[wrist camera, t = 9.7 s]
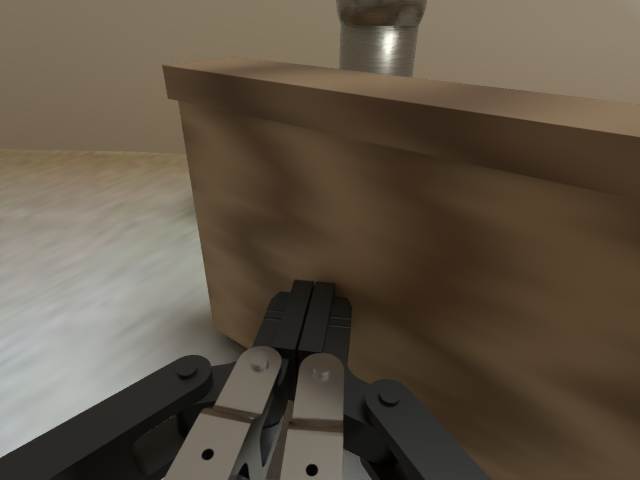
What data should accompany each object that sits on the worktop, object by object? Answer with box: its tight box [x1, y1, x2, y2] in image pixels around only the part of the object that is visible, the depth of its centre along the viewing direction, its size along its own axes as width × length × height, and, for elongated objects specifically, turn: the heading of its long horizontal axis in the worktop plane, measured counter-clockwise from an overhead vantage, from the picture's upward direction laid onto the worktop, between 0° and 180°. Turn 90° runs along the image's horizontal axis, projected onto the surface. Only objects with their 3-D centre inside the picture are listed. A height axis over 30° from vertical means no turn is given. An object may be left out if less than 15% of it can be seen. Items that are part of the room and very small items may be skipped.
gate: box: [162, 57, 640, 480], centre depth 14 cm, size 23×4×13 cm, turn 54°
